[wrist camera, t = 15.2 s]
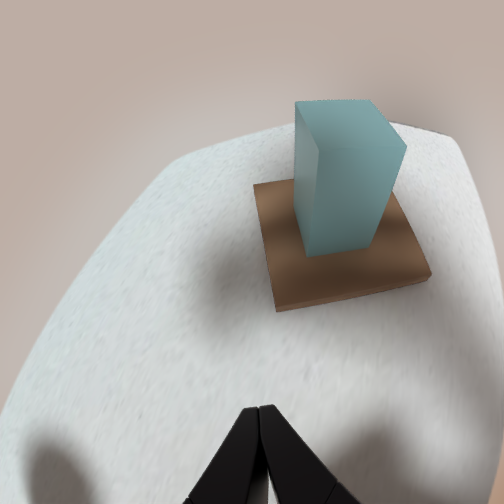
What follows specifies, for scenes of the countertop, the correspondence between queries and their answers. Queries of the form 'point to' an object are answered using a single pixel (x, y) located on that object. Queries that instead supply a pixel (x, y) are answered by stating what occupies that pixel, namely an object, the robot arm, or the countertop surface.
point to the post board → (333, 255)
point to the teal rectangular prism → (342, 173)
